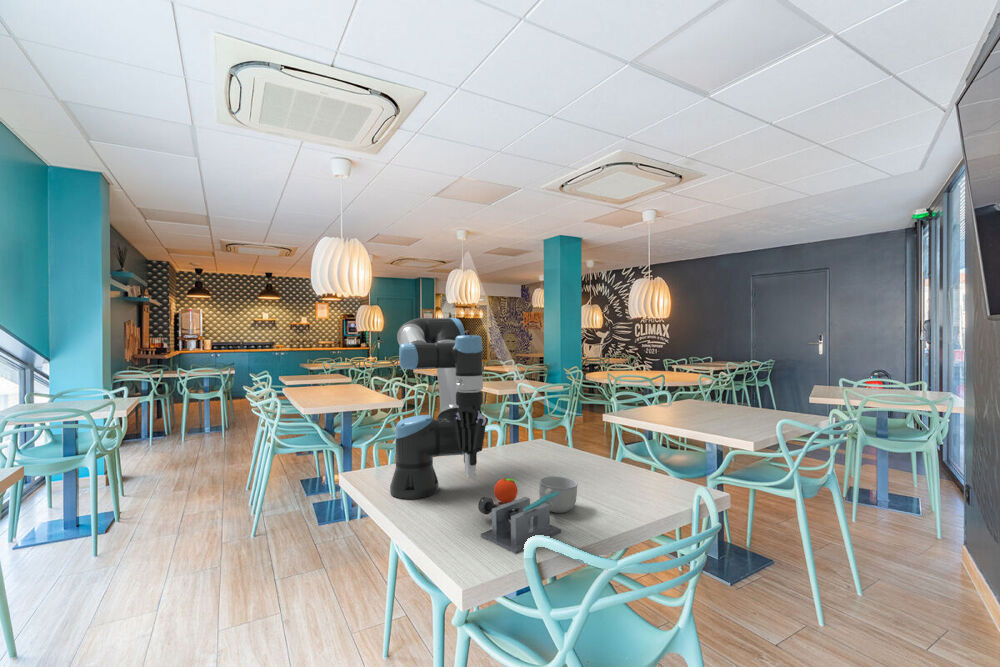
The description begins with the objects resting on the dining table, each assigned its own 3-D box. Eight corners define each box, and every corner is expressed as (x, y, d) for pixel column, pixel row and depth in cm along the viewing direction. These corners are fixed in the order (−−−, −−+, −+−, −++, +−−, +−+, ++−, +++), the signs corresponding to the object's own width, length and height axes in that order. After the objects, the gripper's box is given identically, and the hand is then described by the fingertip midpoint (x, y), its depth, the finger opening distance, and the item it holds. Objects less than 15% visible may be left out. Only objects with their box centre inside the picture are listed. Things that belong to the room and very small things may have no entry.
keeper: (523, 512, 109) (522, 509, 109) (536, 507, 112) (535, 504, 113) (545, 499, 104) (544, 496, 104) (559, 493, 107) (557, 491, 108)
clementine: (520, 497, 139) (520, 474, 139) (522, 506, 132) (521, 481, 132) (493, 498, 138) (493, 474, 138) (494, 507, 131) (494, 482, 131)
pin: (478, 515, 121) (478, 498, 121) (490, 510, 124) (490, 494, 124) (513, 530, 112) (513, 512, 112) (526, 524, 115) (525, 507, 115)
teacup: (552, 499, 137) (552, 472, 137) (584, 507, 130) (584, 479, 130) (525, 513, 126) (524, 484, 126) (558, 523, 119) (558, 492, 119)
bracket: (480, 536, 112) (480, 509, 112) (525, 518, 123) (525, 493, 123) (515, 553, 103) (515, 523, 103) (560, 532, 114) (560, 504, 114)
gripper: (444, 390, 129) (445, 474, 129) (474, 393, 120) (475, 484, 119) (465, 388, 135) (466, 469, 134) (495, 391, 125) (496, 478, 125)
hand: (470, 476), depth 127 cm, fingers closed
